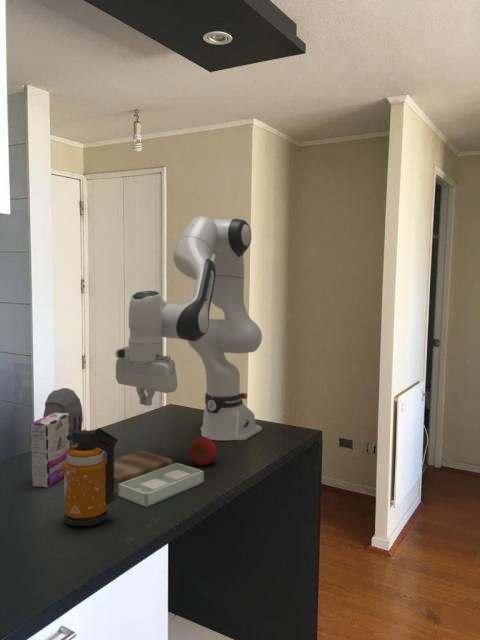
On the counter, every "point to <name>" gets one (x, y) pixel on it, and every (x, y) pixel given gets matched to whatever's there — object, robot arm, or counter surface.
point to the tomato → (202, 451)
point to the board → (137, 466)
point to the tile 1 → (152, 485)
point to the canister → (89, 477)
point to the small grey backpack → (66, 408)
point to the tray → (133, 493)
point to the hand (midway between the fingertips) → (145, 404)
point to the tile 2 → (174, 476)
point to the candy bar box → (49, 449)
